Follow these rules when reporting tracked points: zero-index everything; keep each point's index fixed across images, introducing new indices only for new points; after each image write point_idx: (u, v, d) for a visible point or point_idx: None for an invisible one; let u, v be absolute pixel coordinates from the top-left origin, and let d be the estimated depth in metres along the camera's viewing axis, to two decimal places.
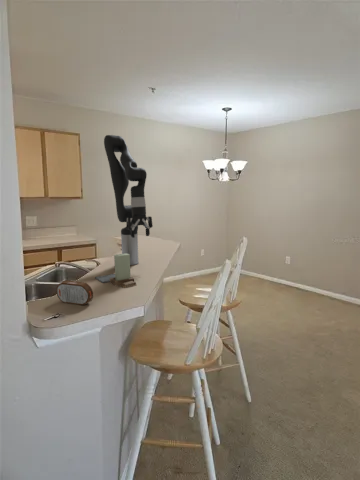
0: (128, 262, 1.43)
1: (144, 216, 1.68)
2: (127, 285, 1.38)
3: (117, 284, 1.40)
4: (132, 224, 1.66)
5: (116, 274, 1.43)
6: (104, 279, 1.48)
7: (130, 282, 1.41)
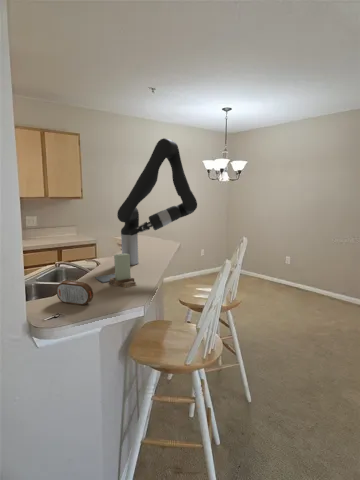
0: (128, 262, 1.43)
1: None
2: (127, 285, 1.38)
3: (117, 284, 1.40)
4: (142, 225, 1.50)
5: (116, 274, 1.43)
6: (104, 279, 1.48)
7: (130, 282, 1.41)
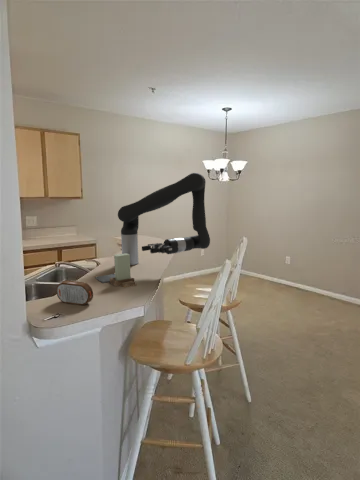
0: (128, 262, 1.43)
1: None
2: (126, 285, 1.38)
3: (117, 284, 1.40)
4: (162, 247, 1.50)
5: (116, 274, 1.43)
6: (104, 279, 1.48)
7: (130, 282, 1.41)
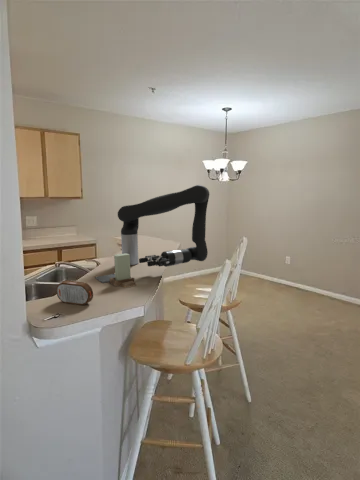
0: (128, 262, 1.43)
1: None
2: (126, 285, 1.38)
3: (117, 284, 1.40)
4: (159, 259, 1.50)
5: (116, 274, 1.43)
6: (104, 279, 1.48)
7: (130, 282, 1.41)
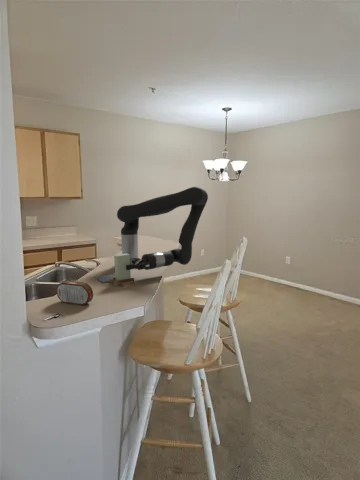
0: (128, 262, 1.43)
1: None
2: (126, 285, 1.38)
3: (117, 284, 1.40)
4: (139, 263, 1.44)
5: (116, 274, 1.43)
6: (104, 279, 1.48)
7: (130, 282, 1.41)
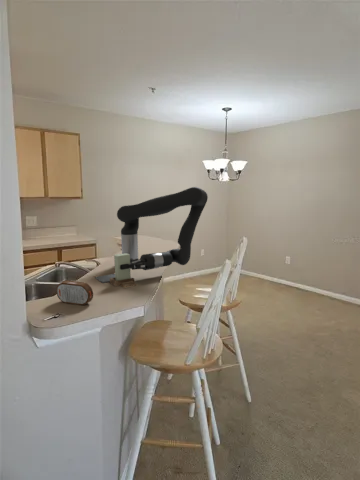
0: (128, 262, 1.43)
1: None
2: (126, 285, 1.38)
3: (117, 284, 1.40)
4: (135, 263, 1.44)
5: (116, 274, 1.43)
6: (104, 279, 1.48)
7: (129, 282, 1.41)
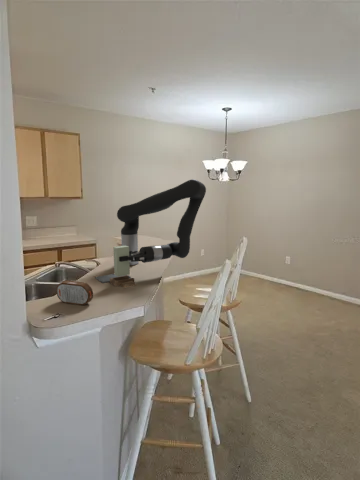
0: (127, 254, 1.43)
1: None
2: (126, 285, 1.38)
3: (117, 284, 1.40)
4: (134, 255, 1.44)
5: (115, 266, 1.42)
6: (104, 279, 1.48)
7: (129, 282, 1.41)
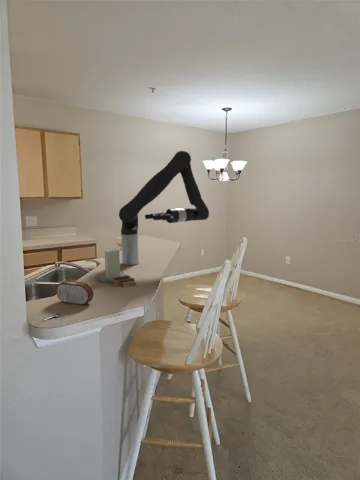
0: (118, 257, 1.51)
1: None
2: (126, 285, 1.38)
3: (117, 284, 1.40)
4: (164, 215, 1.61)
5: (106, 269, 1.50)
6: (104, 279, 1.48)
7: (130, 282, 1.41)
